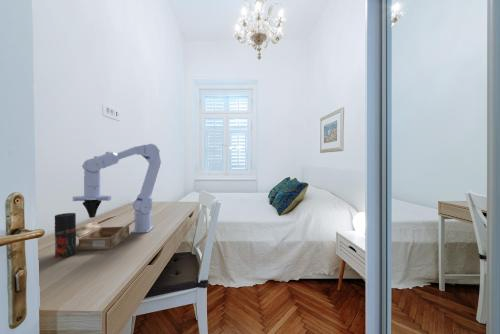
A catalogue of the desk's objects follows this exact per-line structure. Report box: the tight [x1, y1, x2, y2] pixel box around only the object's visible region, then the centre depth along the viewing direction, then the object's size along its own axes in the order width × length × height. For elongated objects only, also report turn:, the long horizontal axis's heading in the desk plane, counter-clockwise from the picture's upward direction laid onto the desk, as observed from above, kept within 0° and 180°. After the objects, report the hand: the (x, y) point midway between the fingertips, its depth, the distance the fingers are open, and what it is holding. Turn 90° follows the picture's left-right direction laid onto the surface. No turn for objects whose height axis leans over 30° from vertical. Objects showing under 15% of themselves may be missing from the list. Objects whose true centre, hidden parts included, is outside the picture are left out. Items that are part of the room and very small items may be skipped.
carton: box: [78, 226, 130, 251], centre depth 94 cm, size 17×12×4 cm
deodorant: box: [54, 212, 77, 259], centre depth 81 cm, size 6×6×15 cm
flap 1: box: [76, 220, 102, 239], centre depth 93 cm, size 15×1×4 cm
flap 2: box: [112, 220, 136, 237], centre depth 95 cm, size 15×1×4 cm
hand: (92, 217), depth 95 cm, fingers closed
